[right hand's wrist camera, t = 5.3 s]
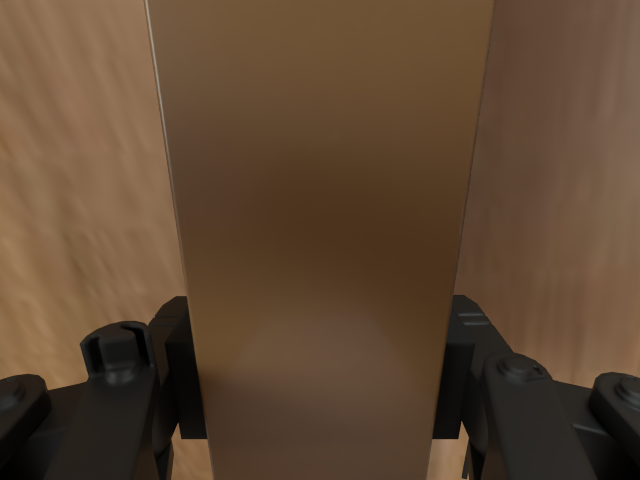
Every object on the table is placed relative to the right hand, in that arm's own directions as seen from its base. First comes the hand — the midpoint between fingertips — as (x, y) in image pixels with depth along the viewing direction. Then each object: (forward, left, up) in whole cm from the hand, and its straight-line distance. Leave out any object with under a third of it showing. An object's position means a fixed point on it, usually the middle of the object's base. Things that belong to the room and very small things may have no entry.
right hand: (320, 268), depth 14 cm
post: (+26, 0, -1) cm, 26 cm away
